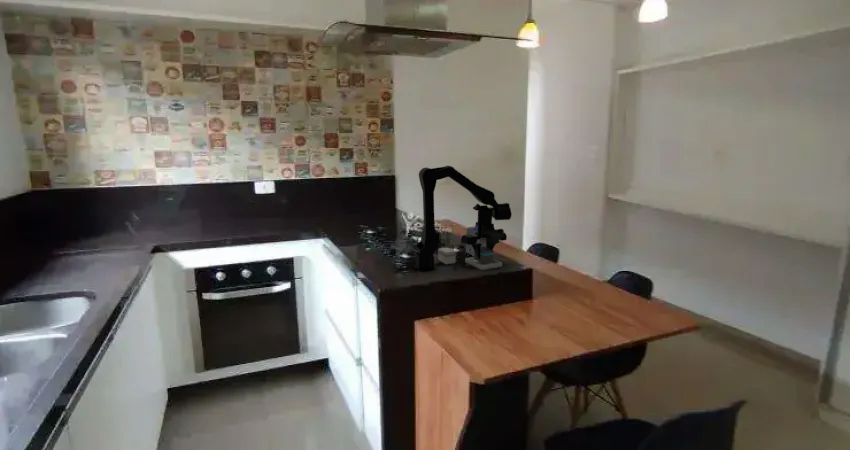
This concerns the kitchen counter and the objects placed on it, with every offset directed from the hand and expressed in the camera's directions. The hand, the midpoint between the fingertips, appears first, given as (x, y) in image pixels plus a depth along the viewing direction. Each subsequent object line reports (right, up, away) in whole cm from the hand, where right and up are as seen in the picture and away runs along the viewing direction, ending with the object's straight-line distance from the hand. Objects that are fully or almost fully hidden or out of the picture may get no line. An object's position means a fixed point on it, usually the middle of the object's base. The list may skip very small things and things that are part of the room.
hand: (483, 258), depth 189 cm
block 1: (-15, -2, +5) cm, 16 cm away
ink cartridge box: (-1, 0, +15) cm, 15 cm away
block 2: (0, -1, 0) cm, 1 cm away
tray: (0, -3, +1) cm, 3 cm away
